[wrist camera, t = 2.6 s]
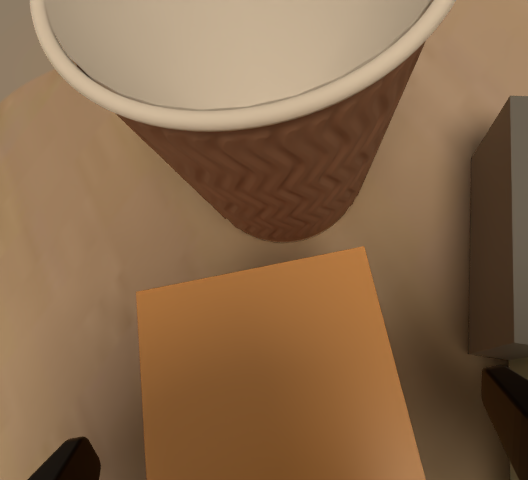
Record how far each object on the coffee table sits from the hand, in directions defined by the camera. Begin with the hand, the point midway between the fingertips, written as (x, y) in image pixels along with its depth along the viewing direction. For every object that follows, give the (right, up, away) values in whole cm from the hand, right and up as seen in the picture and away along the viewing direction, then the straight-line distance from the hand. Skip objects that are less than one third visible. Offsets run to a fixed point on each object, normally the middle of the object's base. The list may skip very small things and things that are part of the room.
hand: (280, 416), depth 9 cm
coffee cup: (+1, +7, +11) cm, 13 cm away
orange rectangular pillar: (+1, -2, +8) cm, 8 cm away
